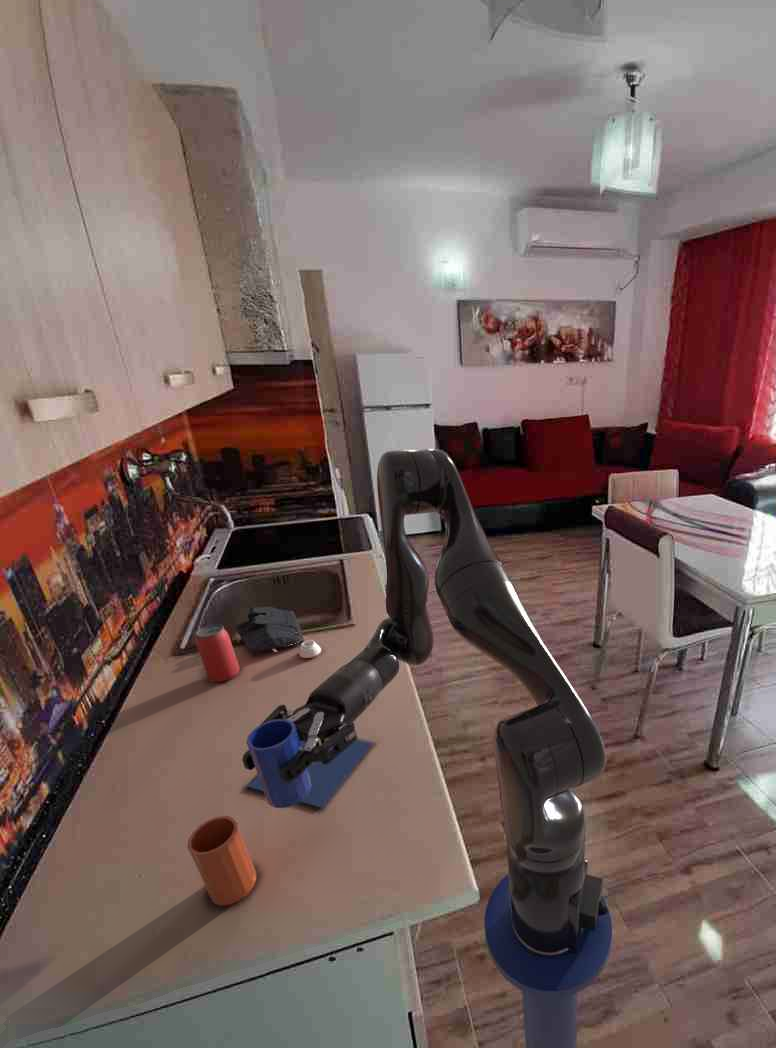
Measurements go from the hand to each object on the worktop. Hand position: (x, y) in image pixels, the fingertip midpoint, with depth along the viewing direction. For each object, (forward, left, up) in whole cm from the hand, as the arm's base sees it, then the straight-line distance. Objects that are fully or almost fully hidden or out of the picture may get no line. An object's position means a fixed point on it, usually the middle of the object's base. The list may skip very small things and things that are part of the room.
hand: (264, 770), depth 65 cm
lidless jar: (+35, -48, -18) cm, 62 cm away
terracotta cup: (+6, +5, -18) cm, 20 cm away
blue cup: (0, -2, -6) cm, 6 cm away
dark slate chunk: (+52, -53, -18) cm, 77 cm away
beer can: (+49, -35, -18) cm, 63 cm away
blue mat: (+10, -17, -18) cm, 27 cm away
